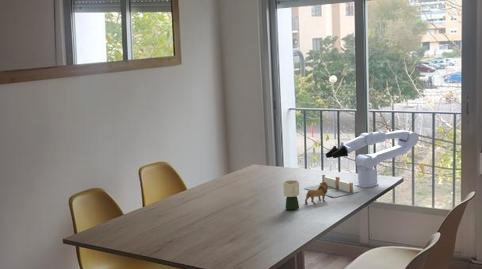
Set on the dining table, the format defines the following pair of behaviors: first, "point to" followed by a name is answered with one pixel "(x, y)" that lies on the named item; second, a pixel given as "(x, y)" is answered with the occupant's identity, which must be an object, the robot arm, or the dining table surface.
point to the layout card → (332, 191)
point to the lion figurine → (317, 193)
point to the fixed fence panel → (344, 185)
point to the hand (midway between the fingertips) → (329, 156)
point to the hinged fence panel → (329, 181)
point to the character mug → (291, 194)
